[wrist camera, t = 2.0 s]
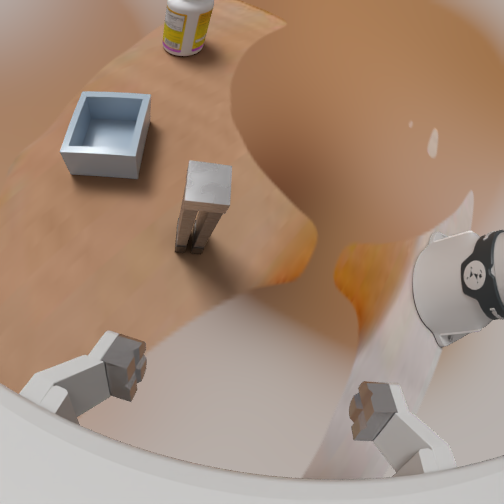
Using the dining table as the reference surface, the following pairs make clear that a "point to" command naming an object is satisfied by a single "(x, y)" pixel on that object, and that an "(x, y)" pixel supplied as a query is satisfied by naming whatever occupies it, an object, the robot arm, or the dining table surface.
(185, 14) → the supplement bottle
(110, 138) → the blue-gray square tray
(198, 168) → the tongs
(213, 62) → the dining table surface
